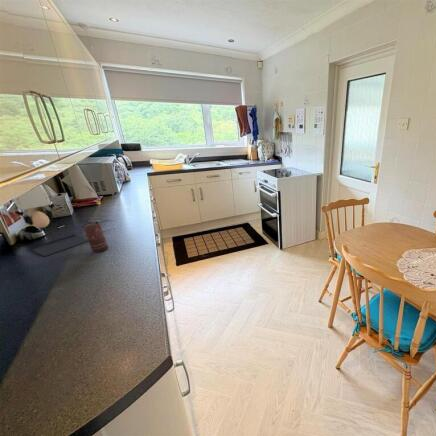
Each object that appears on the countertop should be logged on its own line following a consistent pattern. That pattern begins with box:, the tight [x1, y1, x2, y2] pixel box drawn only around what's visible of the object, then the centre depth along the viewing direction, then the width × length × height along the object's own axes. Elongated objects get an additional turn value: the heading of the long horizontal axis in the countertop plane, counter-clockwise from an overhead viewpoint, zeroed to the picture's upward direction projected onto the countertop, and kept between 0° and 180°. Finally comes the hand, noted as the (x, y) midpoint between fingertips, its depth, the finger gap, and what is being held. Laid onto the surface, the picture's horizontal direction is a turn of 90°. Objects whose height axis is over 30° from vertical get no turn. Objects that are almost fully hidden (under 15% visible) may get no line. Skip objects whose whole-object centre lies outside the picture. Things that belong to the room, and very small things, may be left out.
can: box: [83, 221, 109, 254], centre depth 111 cm, size 6×6×14 cm
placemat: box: [28, 234, 89, 258], centre depth 118 cm, size 18×16×1 cm
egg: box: [29, 210, 51, 229], centre depth 101 cm, size 6×6×8 cm
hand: (40, 221), depth 102 cm, fingers closed on egg, 5 cm apart
